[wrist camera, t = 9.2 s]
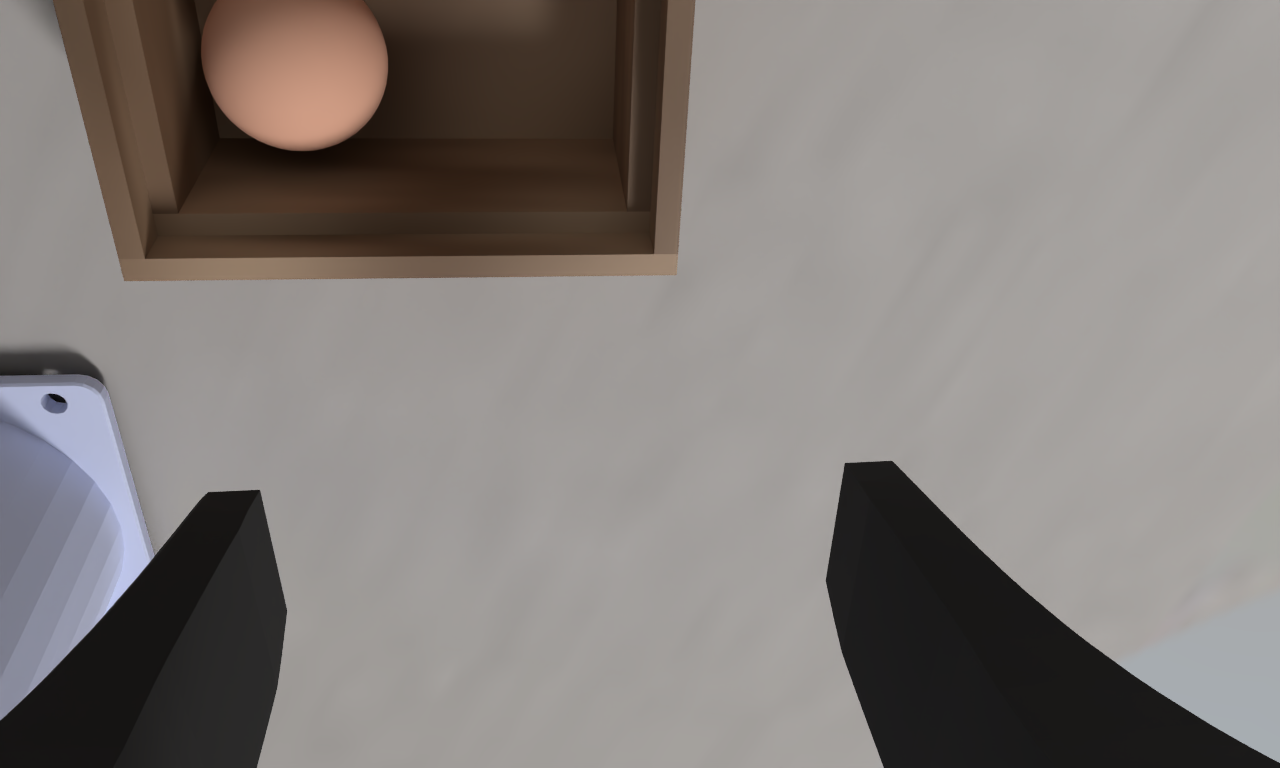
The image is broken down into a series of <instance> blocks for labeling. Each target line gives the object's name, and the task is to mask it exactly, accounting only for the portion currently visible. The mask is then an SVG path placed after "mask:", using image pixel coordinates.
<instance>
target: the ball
mask: <svg viewBox="0 0 1280 768" xmlns="http://www.w3.org/2000/svg"><path fill="white" fill-rule="evenodd" d="M201 59H202V68H203V72H204V75H205V79H206V82H207V84H208V87H209V89H210V92H211V94H212V96H213V98H214V99H215V101H216V103H217V104H218V106H219V107H220V109H221V110H222V111H223V113H224V114H225V115H226V116H227V117H228V118H229V119H230V121H232V122H233V123H234V124H235V125H236V126H237V127H238V128H239V129H241V130H242V131H244V132H245V133H246V134H248V135H249V136H251V137H253V138H255V139H256V140H258V141H260V142H263V143H265V144H267V145H270V146H273V147H276V148H280V149H285V150H290V151H314V150H320V149H324V148H328V147H331V146H334V145H337V144H339V143H341V142H343V141H345V140H347V139H348V138H350V137H351V136H353V135H354V134H356V133H357V132H358V131H359V130H360V129H361V128H362V127H363V126H365V125H366V123H367V122H368V121H369V120H370V119H371V117H372V116H373V115H374V113H375V111H376V110H377V108H378V106H379V104H380V102H381V99H382V97H383V95H384V91H385V87H386V84H387V76H388V55H387V48H386V44H385V40H384V37H383V34H382V31H381V29H380V27H379V24H378V22H377V20H376V18H375V17H374V15H373V13H372V11H371V10H370V9H369V7H368V6H367V5H366V3H365V2H364V1H363V0H217V1H216V2H215V3H214V5H213V7H212V9H211V11H210V13H209V15H208V17H207V20H206V23H205V26H204V29H203V35H202V41H201Z"/></svg>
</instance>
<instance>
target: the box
mask: <svg viewBox="0 0 1280 768" xmlns="http://www.w3.org/2000/svg"><path fill="white" fill-rule="evenodd" d="M216 1H217V0H53V3H54V7H55V11H56V15H57V19H58V23H59V27H60V30H61V34H62V38H63V42H64V46H65V50H66V54H67V58H68V62H69V66H70V70H71V74H72V78H73V81H74V85H75V89H76V93H77V97H78V101H79V105H80V109H81V113H82V117H83V121H84V125H85V129H86V132H87V136H88V140H89V144H90V148H91V152H92V156H93V160H94V164H95V168H96V172H97V176H98V180H99V183H100V187H101V191H102V195H103V199H104V203H105V207H106V211H107V215H108V219H109V223H110V227H111V231H112V234H113V238H114V242H115V246H116V250H117V254H118V258H119V262H120V266H121V270H122V274H123V278H124V281H176V280H267V279H359V278H451V277H543V276H634V275H677V260H678V246H679V231H680V216H681V202H682V187H683V172H684V158H685V143H686V129H687V114H688V99H689V85H690V70H691V55H692V41H693V26H694V11H695V0H363V1H364V2H365V3H366V5H367V6H368V7H369V9H370V10H371V11H372V13H373V15H374V17H375V18H376V20H377V22H378V24H379V27H380V29H381V31H382V34H383V37H384V40H385V44H386V48H387V55H388V76H387V84H386V87H385V91H384V95H383V97H382V99H381V102H380V104H379V106H378V108H377V110H376V111H375V113H374V115H373V116H372V117H371V119H370V120H369V121H368V122H367V123H366V125H365V126H363V127H362V128H361V129H360V130H359V131H358V132H357V133H356V134H354V135H353V136H351V137H350V138H348V139H347V140H345V141H343V142H341V143H339V144H337V145H334V146H331V147H328V148H324V149H320V150H314V151H290V150H285V149H280V148H276V147H273V146H270V145H267V144H265V143H263V142H260V141H258V140H256V139H255V138H253V137H251V136H249V135H248V134H246V133H245V132H244V131H242V130H241V129H239V128H238V127H237V126H236V125H235V124H234V123H233V122H232V121H230V119H229V118H228V117H227V116H226V115H225V114H224V113H223V111H222V110H221V109H220V107H219V106H218V104H217V103H216V101H215V99H214V98H213V96H212V94H211V92H210V89H209V87H208V84H207V82H206V79H205V75H204V72H203V68H202V59H201V41H202V35H203V29H204V26H205V23H206V20H207V17H208V15H209V13H210V11H211V9H212V7H213V5H214V3H215V2H216Z"/></svg>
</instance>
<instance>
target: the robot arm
mask: <svg viewBox="0 0 1280 768" xmlns="http://www.w3.org/2000/svg"><path fill="white" fill-rule="evenodd" d="M50 393H52V394H58V395H60V396H61V397H63V398H64V399H65V400H66V403H61V402H56V401H55V400H53V399H51V398H50V396H49V395H48V394H50ZM826 584H827V588H828V593H829V598H830V602H831V607H832V612H833V616H834V621H835V625H836V629H837V633H838V638H839V642H840V646H841V650H842V654H843V657H844V659H845V662H846V665H847V668H848V671H849V674H850V676H851V679H852V682H853V685H854V687H855V690H856V693H857V696H858V699H859V701H860V704H861V707H862V710H863V712H864V715H865V718H866V720H867V723H868V726H869V729H870V731H871V734H872V737H873V739H874V742H875V745H876V747H877V750H878V753H879V756H880V758H881V761H882V764H883V766H884V768H1280V763H1279V762H1277V761H1275V760H1273V759H1271V758H1269V757H1267V756H1265V755H1263V754H1262V753H1260V752H1258V751H1256V750H1254V749H1252V748H1250V747H1248V746H1247V745H1245V744H1243V743H1241V742H1239V741H1238V740H1236V739H1234V738H1233V737H1231V736H1229V735H1227V734H1226V733H1224V732H1222V731H1220V730H1218V729H1217V728H1215V727H1213V726H1212V725H1210V724H1208V723H1207V722H1205V721H1204V720H1202V719H1200V718H1199V717H1197V716H1195V715H1194V714H1192V713H1191V712H1189V711H1188V710H1186V709H1184V708H1183V707H1181V706H1179V705H1178V704H1176V703H1175V702H1173V701H1171V700H1170V699H1168V698H1167V697H1165V696H1164V695H1162V694H1160V693H1159V692H1157V691H1156V690H1154V689H1153V688H1151V687H1150V686H1148V685H1147V684H1145V683H1144V682H1142V681H1141V680H1139V679H1138V678H1136V677H1135V676H1134V675H1132V674H1131V673H1129V672H1128V671H1127V670H1125V669H1124V668H1122V667H1121V666H1120V665H1118V664H1117V663H1116V662H1114V661H1113V660H1111V659H1110V658H1109V657H1107V656H1106V655H1105V654H1103V653H1102V652H1100V651H1099V650H1098V649H1096V648H1095V647H1094V646H1092V645H1091V644H1089V643H1088V642H1087V641H1085V640H1084V639H1083V638H1082V637H1080V636H1079V635H1078V634H1076V633H1075V632H1074V631H1073V630H1071V629H1070V628H1069V627H1067V626H1066V625H1065V624H1064V623H1063V622H1061V621H1060V620H1059V619H1058V618H1057V617H1055V616H1054V615H1053V614H1052V613H1051V612H1049V611H1048V610H1047V609H1046V608H1045V607H1044V606H1042V605H1041V604H1040V603H1039V602H1038V601H1036V600H1035V599H1034V598H1033V597H1032V596H1030V595H1029V594H1028V593H1027V592H1026V591H1025V590H1023V589H1022V588H1021V587H1020V586H1019V585H1018V584H1017V583H1016V582H1015V581H1013V580H1012V579H1011V578H1010V577H1009V576H1008V575H1007V574H1006V573H1005V572H1003V571H1002V570H1001V569H1000V568H999V567H998V566H997V565H996V564H995V563H994V562H993V561H992V560H991V559H990V558H989V557H988V556H987V555H985V554H984V553H983V552H982V551H981V550H980V549H979V548H978V547H977V546H976V545H975V544H974V543H973V542H972V541H971V540H970V539H969V538H968V537H967V536H966V535H965V534H964V533H963V532H962V531H961V530H960V529H959V528H958V527H957V526H956V525H955V524H954V523H953V522H952V521H951V520H950V519H949V518H948V517H947V516H946V515H945V514H944V513H943V512H942V511H941V510H940V509H939V508H938V507H937V506H936V505H935V504H934V503H933V502H932V501H931V500H930V499H929V498H928V497H927V496H926V495H925V494H924V493H923V492H922V491H921V490H920V489H919V488H918V487H917V486H916V485H915V484H914V483H913V482H912V481H911V480H910V479H909V478H908V477H907V476H906V474H905V473H904V472H903V471H902V470H901V469H900V468H899V467H898V466H897V465H896V464H895V463H894V462H893V461H880V462H859V463H845V466H844V472H843V478H842V485H841V491H840V497H839V503H838V509H837V515H836V521H835V527H834V534H833V540H832V546H831V552H830V558H829V564H828V570H827V577H826ZM286 615H287V608H286V604H285V599H284V595H283V591H282V586H281V582H280V577H279V573H278V568H277V564H276V559H275V555H274V551H273V546H272V542H271V537H270V533H269V528H268V524H267V519H266V515H265V510H264V506H263V502H262V497H261V493H260V490H248V491H226V492H208V493H207V494H206V495H205V496H204V497H203V498H202V499H201V500H200V501H199V502H198V503H197V505H196V506H195V507H194V508H193V509H192V511H191V512H190V513H189V514H188V516H187V517H186V518H185V519H184V521H183V522H182V523H181V524H180V526H179V527H178V528H177V529H176V531H175V532H174V533H173V534H172V536H171V537H170V538H169V539H168V541H167V542H166V543H165V544H164V545H163V547H162V548H161V549H160V550H159V552H158V553H157V554H156V555H155V556H154V552H153V549H152V545H151V542H150V538H149V535H148V531H147V527H146V524H145V520H144V517H143V513H142V510H141V506H140V503H139V499H138V496H137V492H136V489H135V485H134V481H133V478H132V474H131V471H130V467H129V464H128V460H127V457H126V453H125V450H124V446H123V443H122V439H121V436H120V432H119V428H118V425H117V421H116V418H115V414H114V411H113V407H112V404H111V400H110V397H109V393H108V391H107V389H106V388H105V386H104V385H103V384H102V383H101V382H100V381H98V380H97V379H95V378H93V377H90V376H87V375H80V374H69V375H16V376H0V768H257V764H258V760H259V757H260V753H261V749H262V745H263V741H264V738H265V734H266V730H267V726H268V722H269V718H270V714H271V710H272V706H273V702H274V698H275V694H276V690H277V686H278V678H279V671H280V664H281V657H282V649H283V641H284V632H285V624H286Z"/></svg>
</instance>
